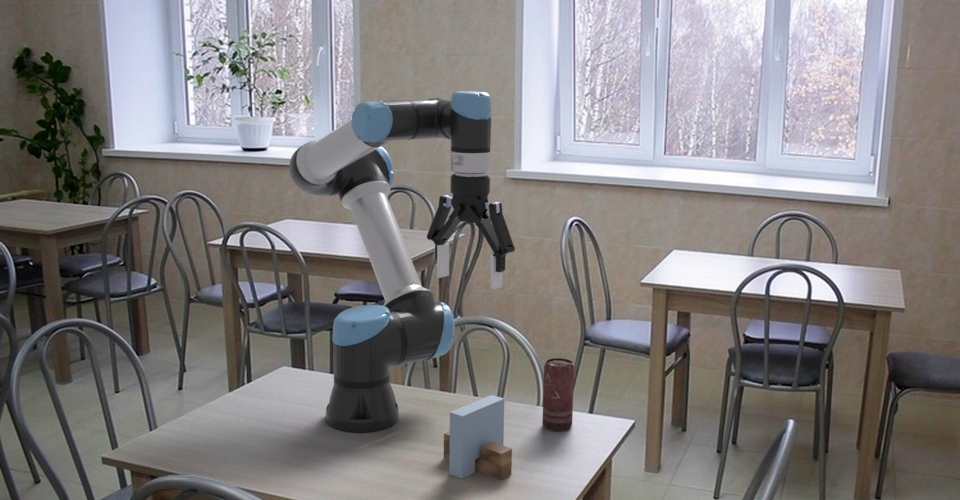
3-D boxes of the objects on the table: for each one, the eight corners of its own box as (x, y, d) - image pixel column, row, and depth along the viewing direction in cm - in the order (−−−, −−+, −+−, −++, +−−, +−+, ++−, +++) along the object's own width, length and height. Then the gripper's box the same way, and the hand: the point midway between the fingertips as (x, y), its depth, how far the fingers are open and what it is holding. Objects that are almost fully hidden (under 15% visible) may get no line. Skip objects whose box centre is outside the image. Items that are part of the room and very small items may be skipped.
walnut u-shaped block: (443, 458, 187) (443, 433, 186) (454, 453, 189) (454, 428, 188) (501, 479, 178) (501, 453, 177) (511, 474, 180) (511, 448, 179)
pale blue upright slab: (449, 473, 180) (449, 412, 177) (490, 453, 189) (491, 394, 186) (461, 478, 178) (462, 416, 175) (503, 458, 187) (504, 398, 184)
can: (571, 433, 199) (573, 367, 196) (540, 430, 201) (542, 365, 198) (574, 422, 205) (577, 358, 202) (544, 419, 206) (546, 356, 204)
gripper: (409, 169, 192) (409, 275, 196) (509, 182, 176) (507, 296, 181) (435, 166, 197) (434, 268, 202) (534, 178, 182) (531, 289, 186)
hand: (469, 282), depth 191 cm, fingers open, 13 cm apart
